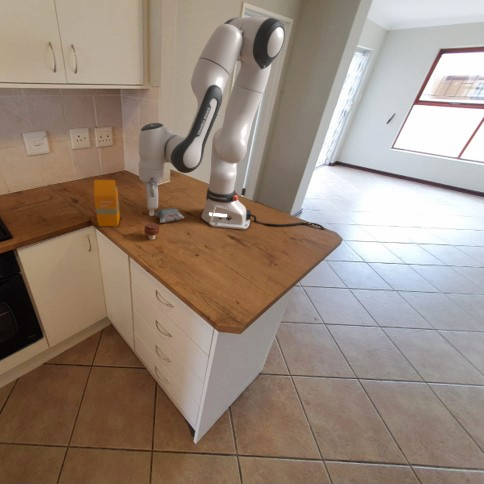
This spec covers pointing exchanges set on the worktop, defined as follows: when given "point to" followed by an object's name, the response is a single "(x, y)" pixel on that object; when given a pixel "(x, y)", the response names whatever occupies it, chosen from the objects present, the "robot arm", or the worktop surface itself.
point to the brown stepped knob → (151, 230)
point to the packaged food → (169, 215)
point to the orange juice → (106, 202)
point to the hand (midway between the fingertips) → (150, 209)
